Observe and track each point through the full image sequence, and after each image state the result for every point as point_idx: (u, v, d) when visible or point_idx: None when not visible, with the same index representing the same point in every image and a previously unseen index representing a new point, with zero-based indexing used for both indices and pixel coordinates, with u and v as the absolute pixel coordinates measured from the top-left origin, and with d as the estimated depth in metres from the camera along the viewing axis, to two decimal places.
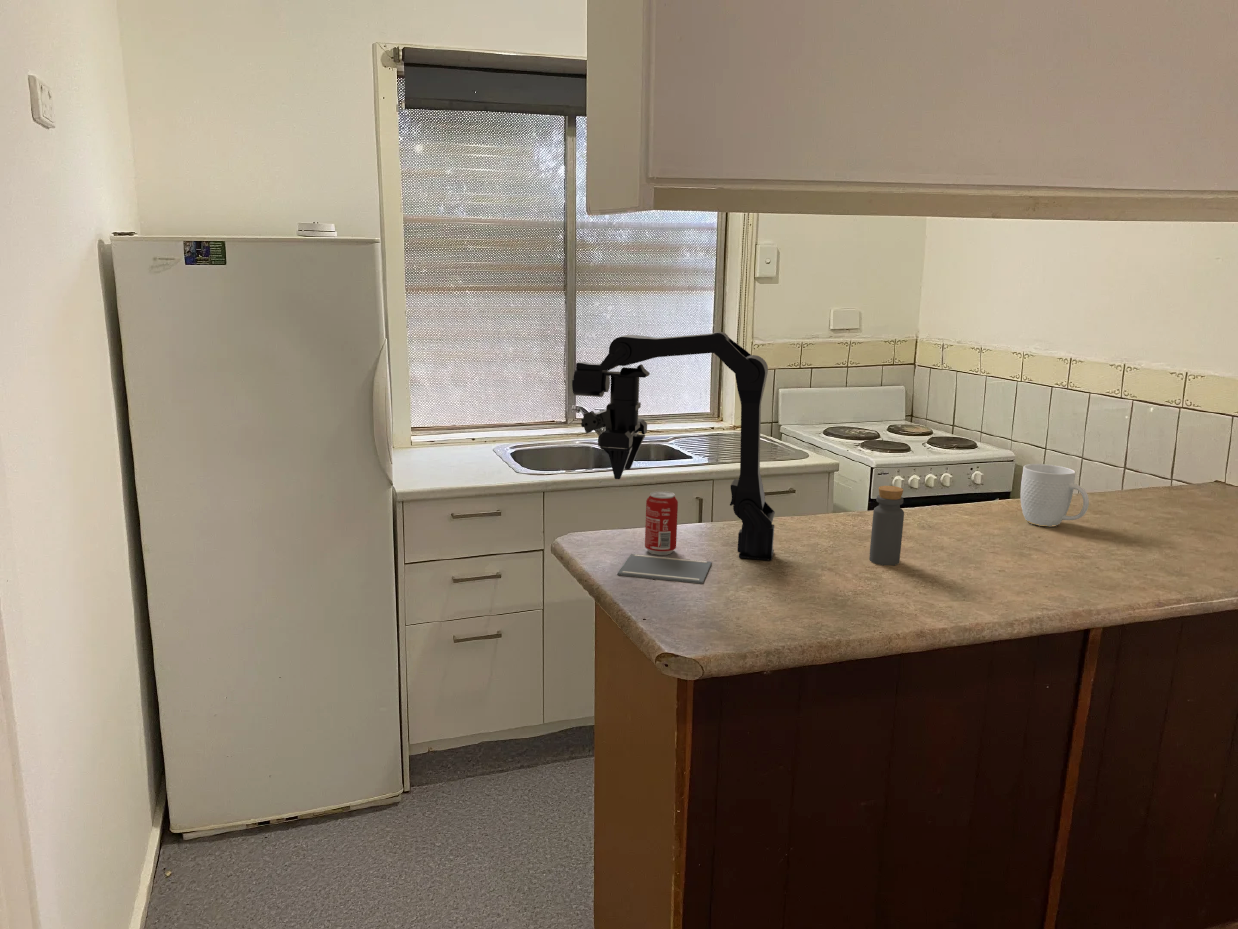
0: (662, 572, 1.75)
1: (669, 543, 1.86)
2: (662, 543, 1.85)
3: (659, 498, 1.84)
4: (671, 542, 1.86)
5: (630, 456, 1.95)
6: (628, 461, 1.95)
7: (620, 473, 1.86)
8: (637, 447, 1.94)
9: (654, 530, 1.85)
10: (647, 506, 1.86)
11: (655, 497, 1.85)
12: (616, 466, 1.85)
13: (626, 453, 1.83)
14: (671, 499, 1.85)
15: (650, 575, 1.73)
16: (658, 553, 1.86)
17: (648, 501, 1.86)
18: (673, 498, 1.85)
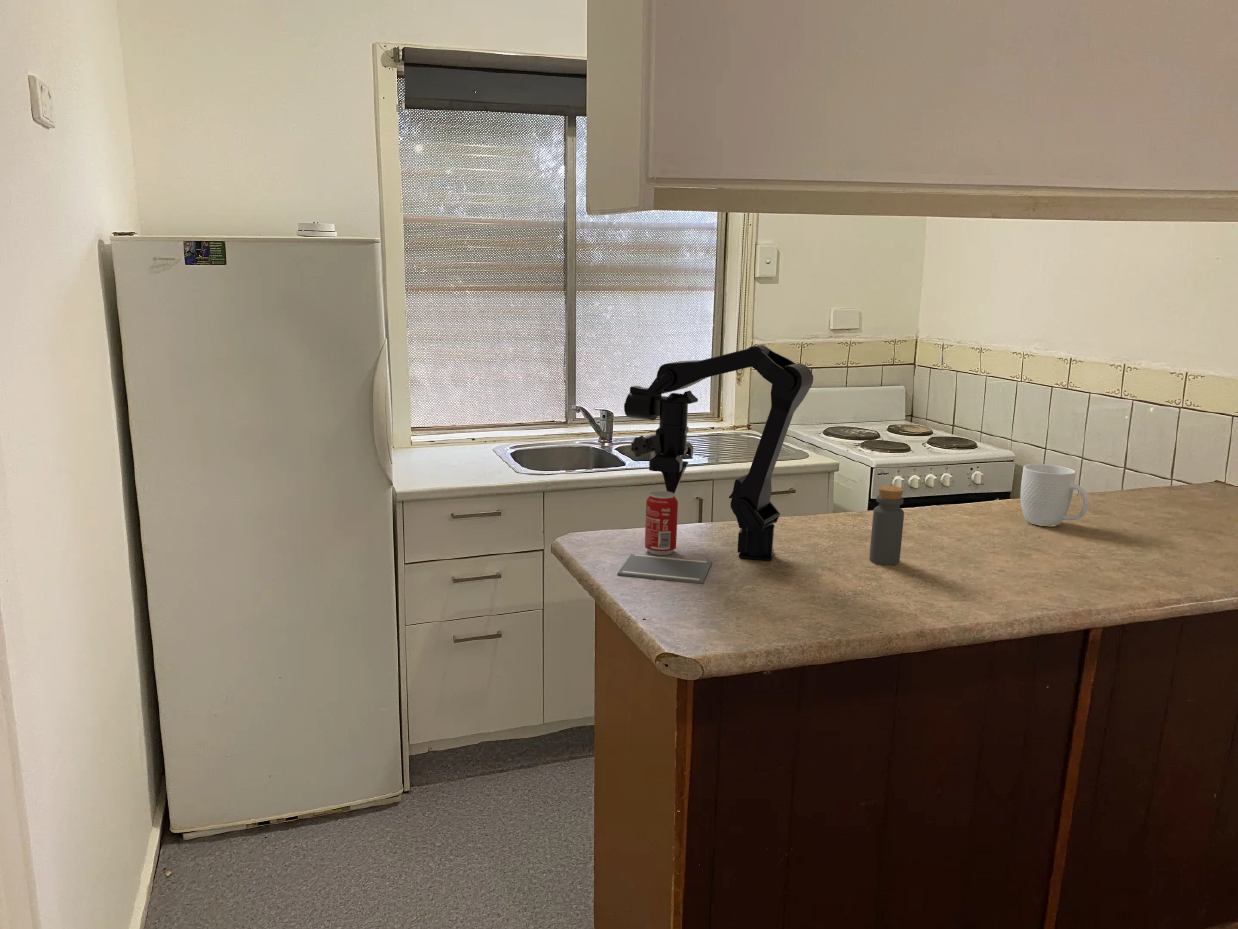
0: (662, 572, 1.75)
1: (669, 543, 1.86)
2: (662, 543, 1.85)
3: (659, 498, 1.84)
4: (671, 542, 1.86)
5: None
6: None
7: (673, 491, 1.95)
8: None
9: (654, 530, 1.85)
10: (647, 506, 1.86)
11: (655, 497, 1.85)
12: (670, 484, 1.94)
13: (680, 472, 1.92)
14: (671, 499, 1.85)
15: (650, 575, 1.73)
16: (658, 553, 1.86)
17: (648, 501, 1.86)
18: (673, 498, 1.85)
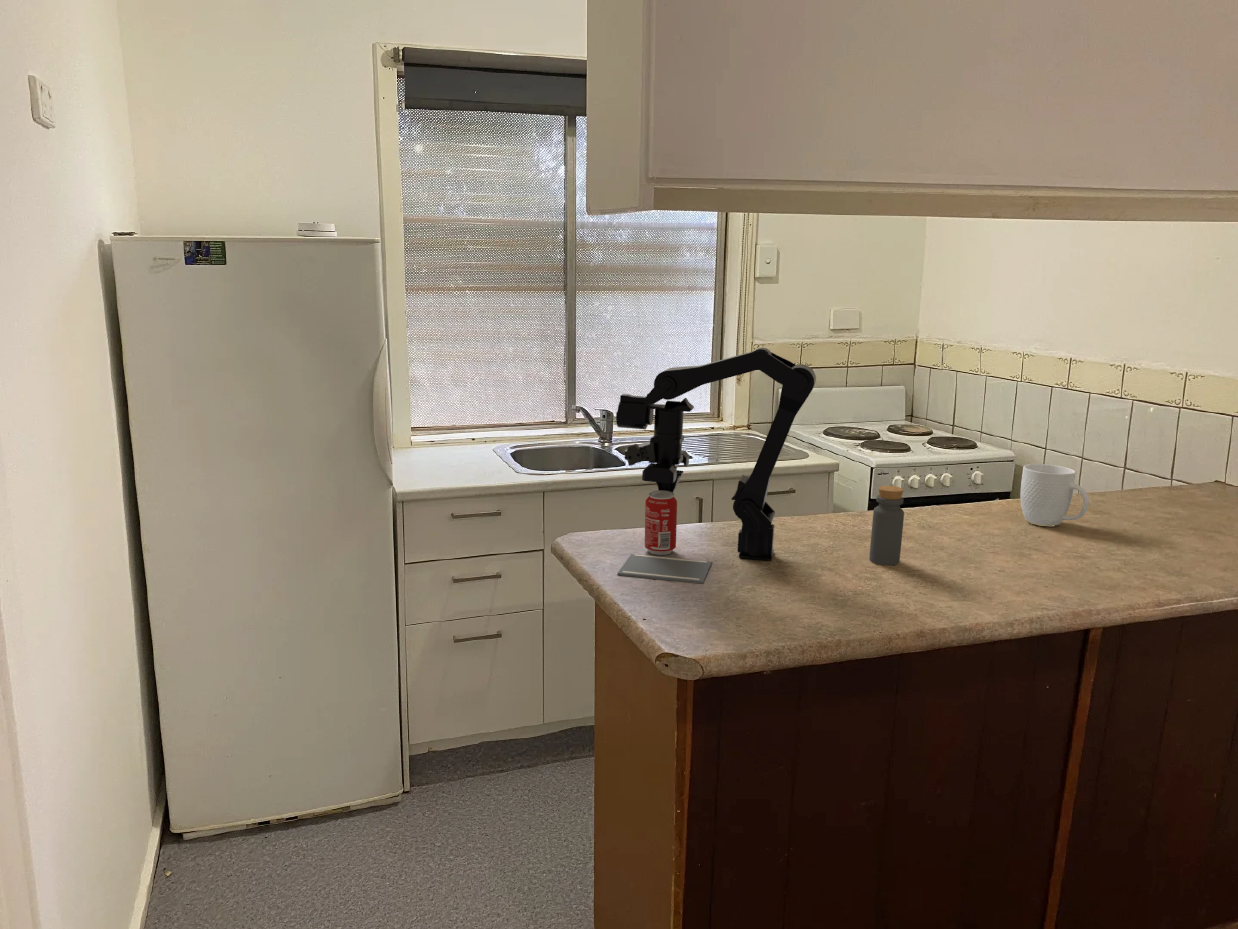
0: (662, 572, 1.75)
1: (669, 543, 1.86)
2: (662, 543, 1.85)
3: (658, 499, 1.84)
4: (671, 541, 1.86)
5: None
6: None
7: None
8: None
9: (654, 531, 1.85)
10: (646, 507, 1.85)
11: (654, 498, 1.84)
12: None
13: (674, 482, 1.88)
14: (670, 499, 1.84)
15: (650, 575, 1.73)
16: (658, 553, 1.86)
17: (647, 502, 1.85)
18: (672, 498, 1.85)
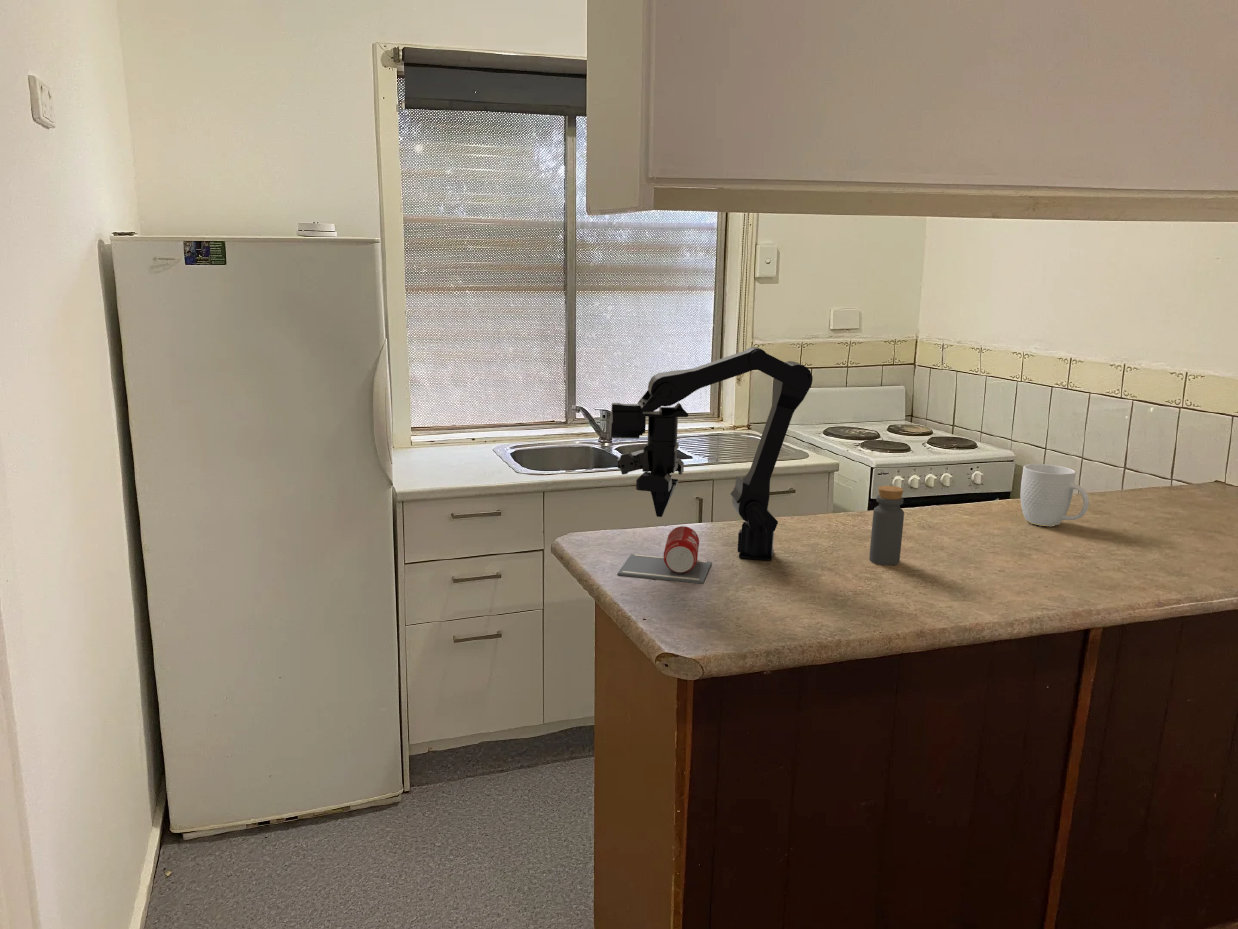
0: (662, 572, 1.75)
1: None
2: (667, 539, 1.82)
3: (669, 551, 1.73)
4: None
5: None
6: None
7: (662, 511, 1.84)
8: (670, 493, 1.84)
9: (670, 537, 1.79)
10: (680, 539, 1.75)
11: (672, 548, 1.73)
12: (658, 504, 1.83)
13: (669, 491, 1.81)
14: (667, 563, 1.74)
15: (650, 575, 1.73)
16: None
17: (679, 542, 1.74)
18: (670, 566, 1.74)
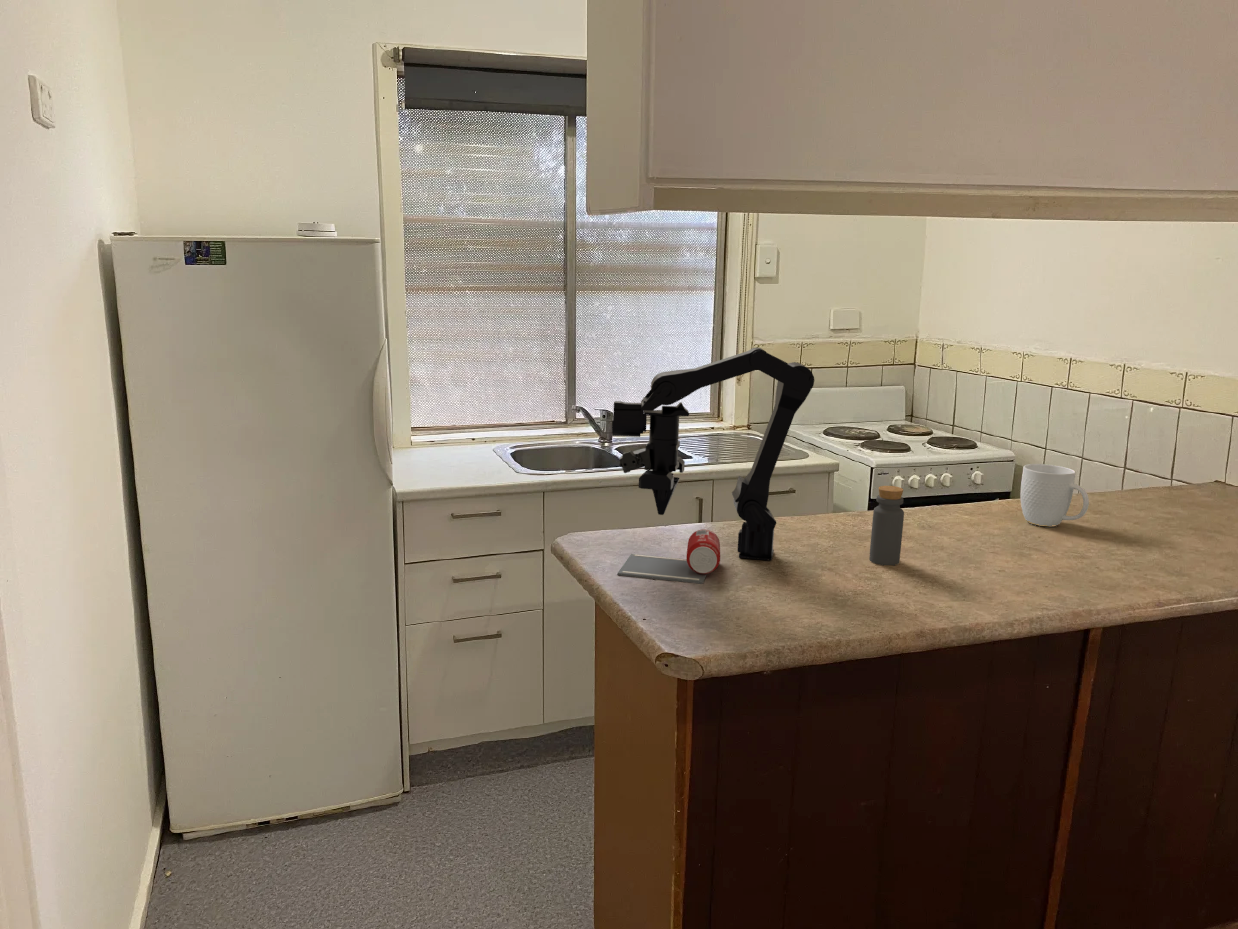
0: (662, 572, 1.75)
1: (696, 532, 1.82)
2: (704, 531, 1.81)
3: (708, 547, 1.73)
4: (694, 533, 1.81)
5: None
6: None
7: (664, 509, 1.85)
8: None
9: (712, 537, 1.79)
10: (719, 553, 1.75)
11: (712, 550, 1.72)
12: (660, 502, 1.85)
13: (671, 489, 1.83)
14: (695, 548, 1.73)
15: (650, 575, 1.73)
16: None
17: (718, 553, 1.74)
18: (692, 551, 1.73)
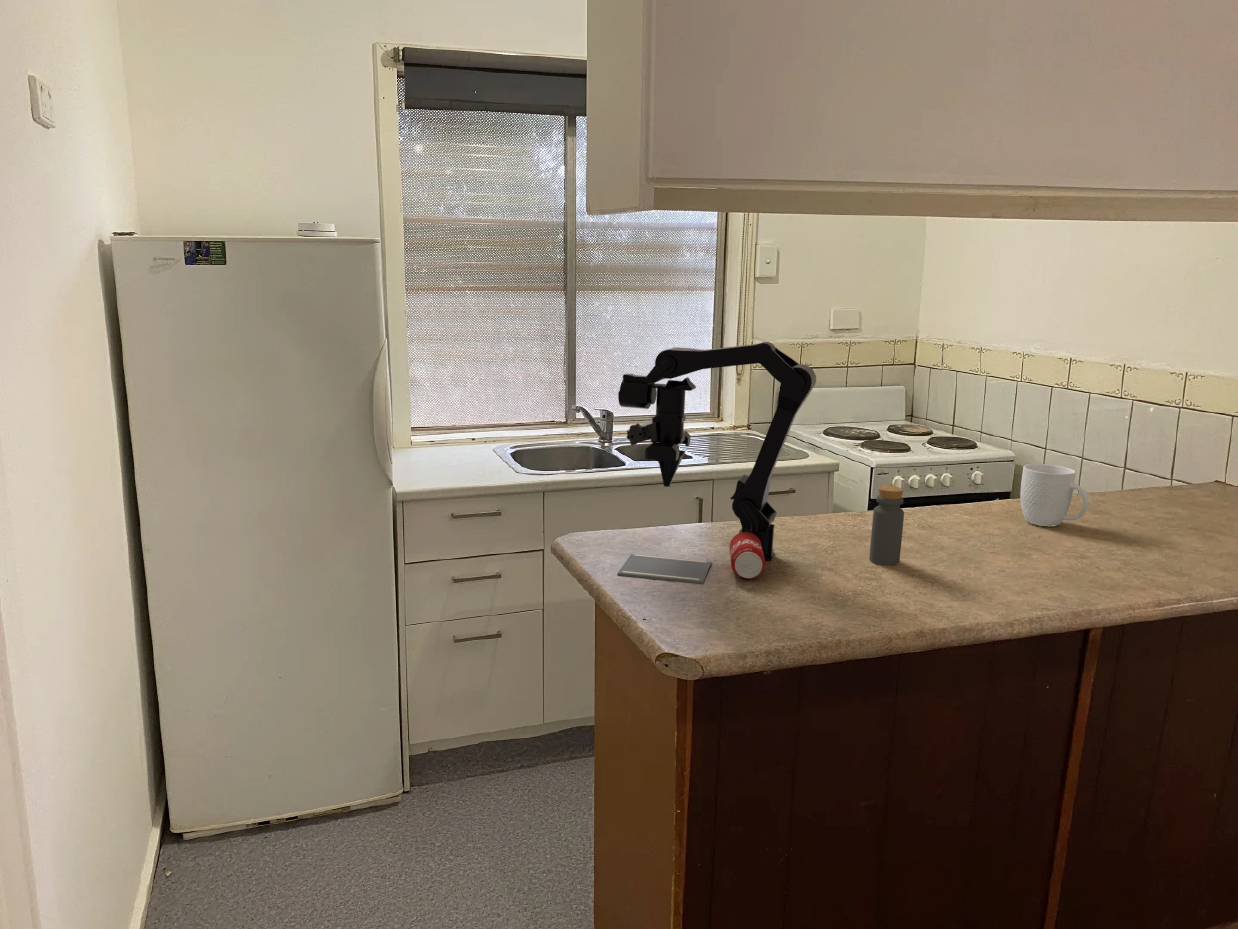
0: (662, 572, 1.75)
1: None
2: None
3: None
4: None
5: None
6: None
7: (669, 481, 1.90)
8: None
9: None
10: None
11: None
12: (666, 474, 1.90)
13: (676, 461, 1.88)
14: (760, 569, 1.73)
15: (650, 575, 1.73)
16: None
17: None
18: (761, 566, 1.72)
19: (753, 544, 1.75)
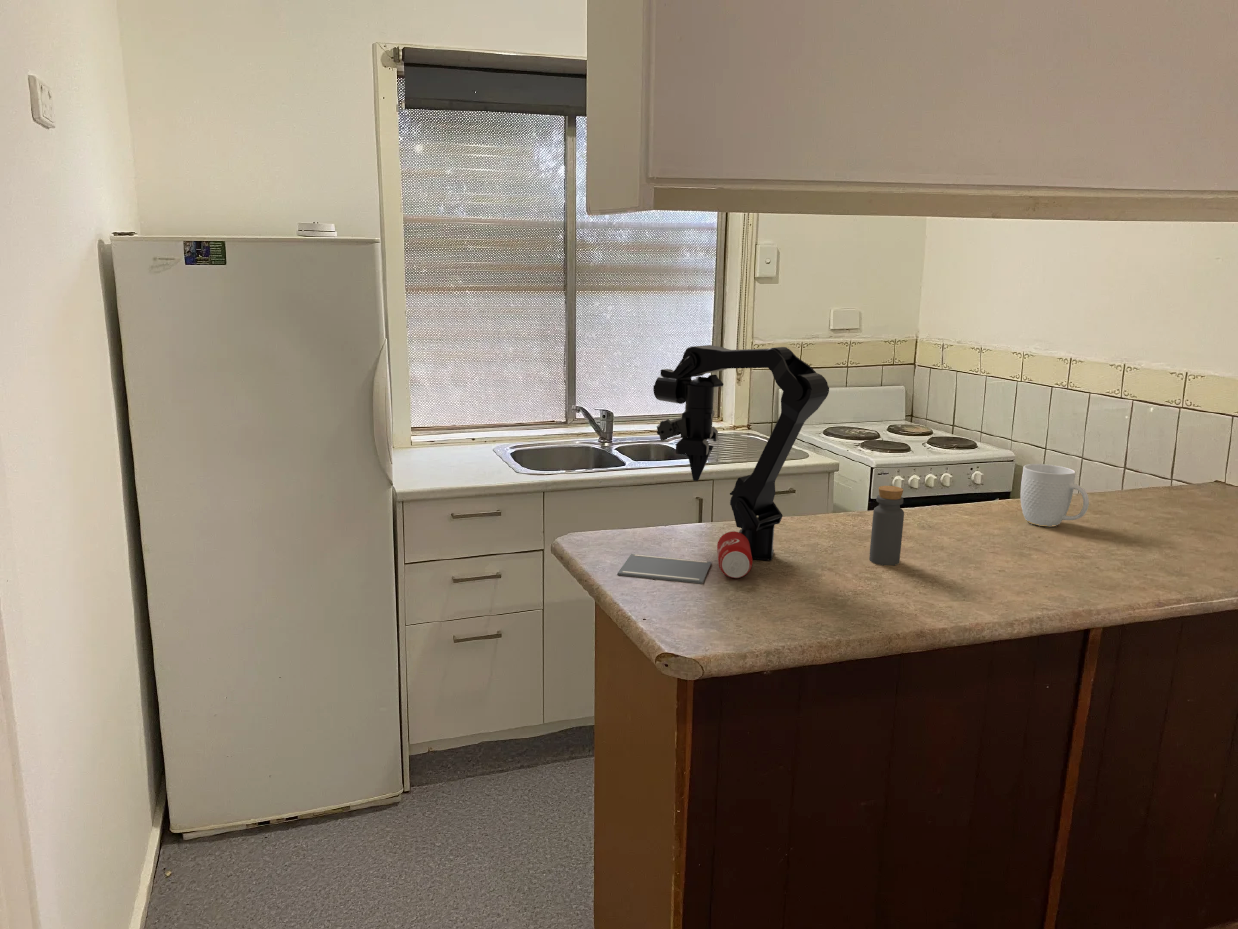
0: (662, 572, 1.75)
1: None
2: None
3: None
4: (749, 546, 1.81)
5: None
6: None
7: (699, 475, 1.95)
8: None
9: None
10: None
11: None
12: (695, 468, 1.94)
13: (705, 456, 1.92)
14: (748, 559, 1.72)
15: (650, 575, 1.73)
16: None
17: None
18: (746, 556, 1.72)
19: (728, 544, 1.75)
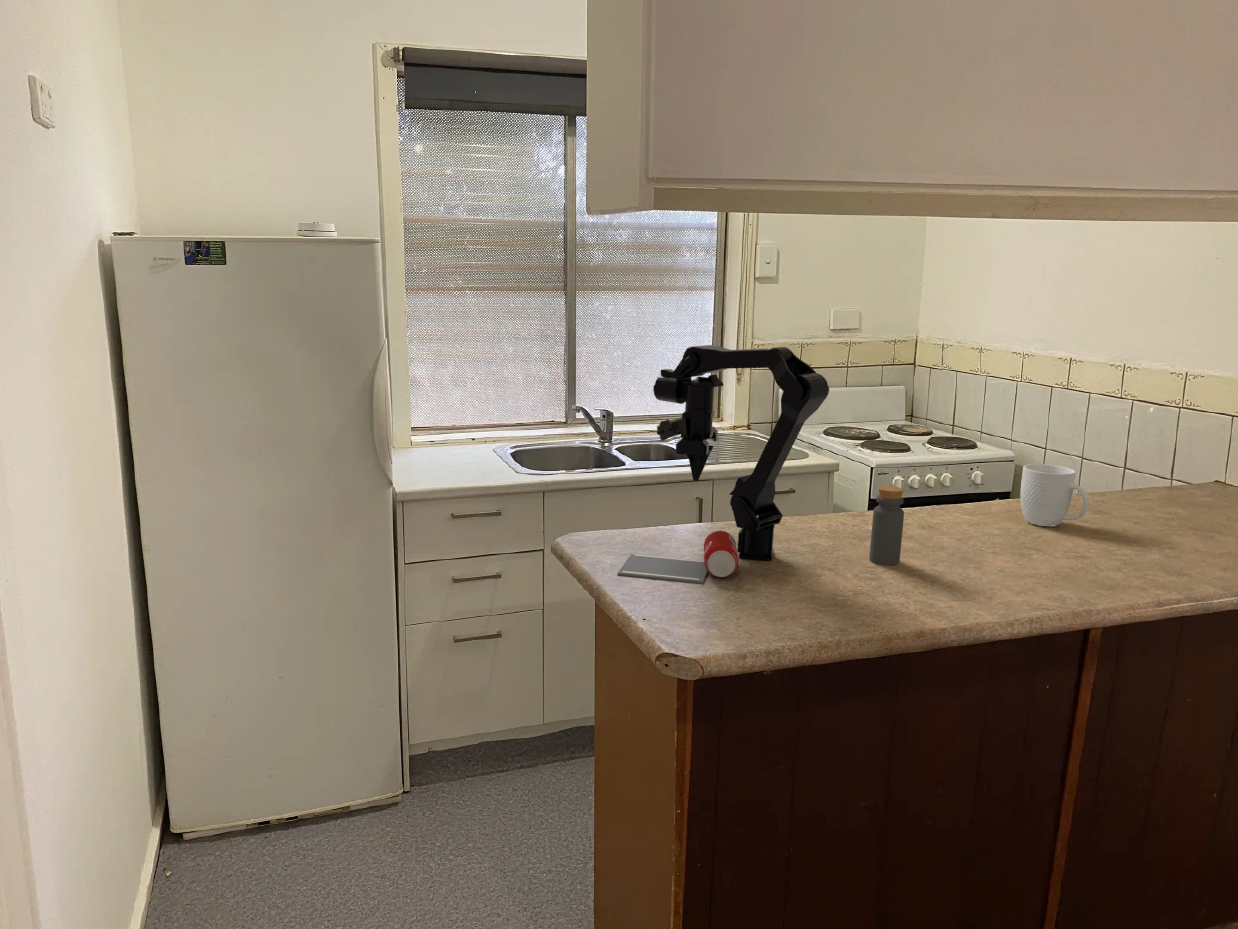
0: (662, 572, 1.75)
1: (729, 536, 1.81)
2: (735, 542, 1.81)
3: (734, 562, 1.72)
4: (728, 535, 1.81)
5: None
6: None
7: (699, 475, 1.95)
8: None
9: None
10: None
11: None
12: (695, 468, 1.94)
13: (705, 456, 1.92)
14: (727, 551, 1.72)
15: (650, 575, 1.73)
16: None
17: (732, 572, 1.74)
18: (723, 550, 1.72)
19: (705, 552, 1.76)
